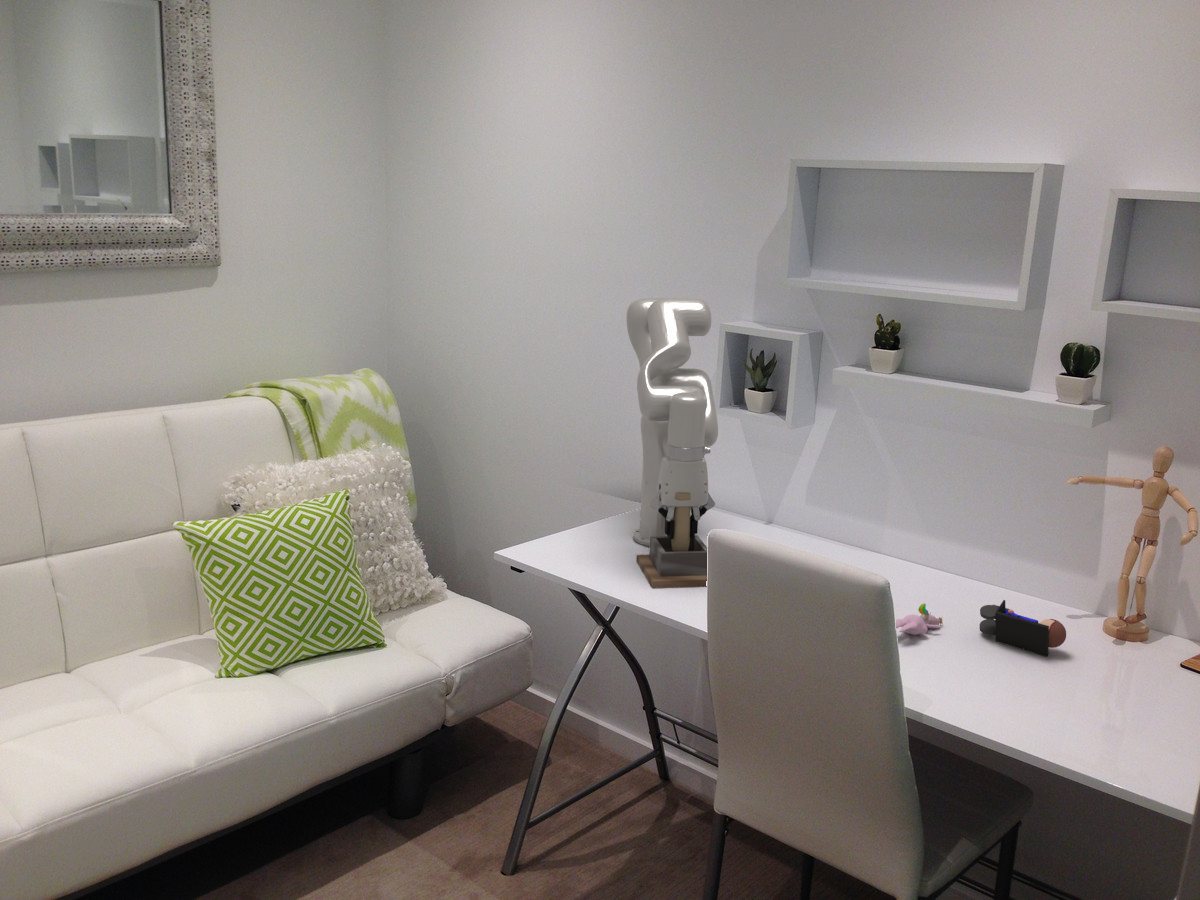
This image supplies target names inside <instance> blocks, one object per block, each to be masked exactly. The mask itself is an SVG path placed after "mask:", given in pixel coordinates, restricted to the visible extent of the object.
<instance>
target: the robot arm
mask: <svg viewBox="0 0 1200 900" xmlns="http://www.w3.org/2000/svg"><path fill="white" fill-rule="evenodd" d="M711 326H712V313H711V310H710V306H709V304H708V303H707V302H706V301H705V300H704V299H701V298H699V299H698V298H676V297H675V298H670V297H669V298H664V297H649V298H647V297H646V298H639V299H636V300H634V301H633V302H631V303H630V304H629V305H628V308H627V311H626V328H627V334H628V338H629V341H630V343H631V346H632V348H633V351H634V352H635V354H636V357H637V359H638V362H639V372H638V375H637V379H636V381H637V382H636V390H637V399H638V406H639V410H640V414H641V418H640V433H641V442H642V474H641V475H642V477H641V478H642V479H641V494H640V495H641V496H640V497H641V498H640V499H641V500H640V516H639V517H640V518H639V519H640V520H639V521H640V522H639V528H637V529H636V530H634V532H633V534H632V539H633V540H634V541H635V542H636V543H637V544H641V545H643V546H646V547H650V536H668V538H669V539H673V536H674V521H673V516H674V508H675V507H690V537H691V538H692V539H695V535H697V534H698V530H699V529H698V527H699V525H698V524H699V521H700V520H701V518H702V517H703V516H704V515H705V514H706V512H707V511H709V510H711V509H713V508H714V507H715V506H716V502H715V501H714V500H713V498H712V496H711V494H710V492H709V474H708V473H709V472H708V464H707V460H706V458H705V455H707V454H711V447H712V446H714V444H716V442H717V440H718V436H719V421H718V416H717V410H716V404H715V398H714V393H713V386H712V383H711V379H710V376H709V374H708V373H706V371H704V370H703V369H698V368H681V367H682V366H684V365H685V364H686V363H687V362H688V361H689V359H690V358H691V355H692V349H691V343H690V339H689V337H705V336H706V335H707V334H708V333H709V332H710V330H711ZM675 493H690V497H691V499H690V500H683V501H680V500H677V499H675Z"/></svg>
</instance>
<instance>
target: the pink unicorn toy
mask: <svg viewBox="0 0 1200 900" xmlns="http://www.w3.org/2000/svg"><path fill="white" fill-rule="evenodd" d="M926 606H927V605H926V603H925V602H923V603H922V604H920V606H919V607H918V612H919V614H920V616H919V615H918V614H908V615H906V616H904V617H903V618H901V619H899V618H898V619H897V618H896V619H895V620H896V629H899V628H900V629H899V633H902V632H905V633H907V634H910V635H911V636H918V635H924V634H926V633H927V632H928V629H930V630H931V629H932V630H935V629H939V628H940V626H942V625H943V626H944V623H943V618H944V617H943V616H941V617H940V616H939V617H936V616H935V615H932V614H931V612H930V613H929V611H928V609H926V608H927V607H926Z"/></svg>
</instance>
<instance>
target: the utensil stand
mask: <svg viewBox="0 0 1200 900" xmlns="http://www.w3.org/2000/svg"><path fill="white" fill-rule="evenodd" d="M707 548H708V546H707V545H706V544H705V542H704V541H703V540H702V539H701V538H700V536H699V535H697V534H695V539H692V538H691V537H690V543H689V548H688V551H684V552H673V550H672V544H671V539H669V538H668V536H650V546H649V554H636V559H635V560H636V563H637V564H638V566H639V568H640V570H641V572H642V573H643V575H644V577H645V578H646V580H647V582H648V583H649V585H650V587H651V588H652V589H670V588H672V589H673V588H698V587H699V588H703V587H704V586H705V587H706V581H707ZM701 586H702V587H701Z"/></svg>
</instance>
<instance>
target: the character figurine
mask: <svg viewBox="0 0 1200 900" xmlns="http://www.w3.org/2000/svg"><path fill="white" fill-rule="evenodd" d="M979 614H980V617H982V619H983V620H981V621H980V623H979V631H980V633H981V634H983V635H986V636H995V642H997V643H999V644H1003V645H1007V646H1010V647H1012V648H1017V649H1019V650H1023V651H1025V652H1030V653H1032V654H1035V655H1039V656H1043V657H1045V658H1049V657H1048V656H1049V655H1050V654H1049V653H1050V652H1049V650H1050V648H1051V649H1054V648H1058V647H1060V646H1062V644H1064V642H1065V641H1066V639H1067V631H1066V627H1065V626H1064V624H1063V623H1062V622H1061V621H1059V620H1057V619H1055V618H1054V619H1053V618H1048V619H1044V620H1042V621H1040V622H1039V620H1038V619H1034V618H1031V617H1028V616H1024V615H1020V614H1017V613H1015V611H1014V610H1013V609H1011V608H1007V607H1006V600H1005V599H1003V600H1002V602H1001V603H1000V605H996V604H986V605H983V606H982V607H980V609H979Z"/></svg>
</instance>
